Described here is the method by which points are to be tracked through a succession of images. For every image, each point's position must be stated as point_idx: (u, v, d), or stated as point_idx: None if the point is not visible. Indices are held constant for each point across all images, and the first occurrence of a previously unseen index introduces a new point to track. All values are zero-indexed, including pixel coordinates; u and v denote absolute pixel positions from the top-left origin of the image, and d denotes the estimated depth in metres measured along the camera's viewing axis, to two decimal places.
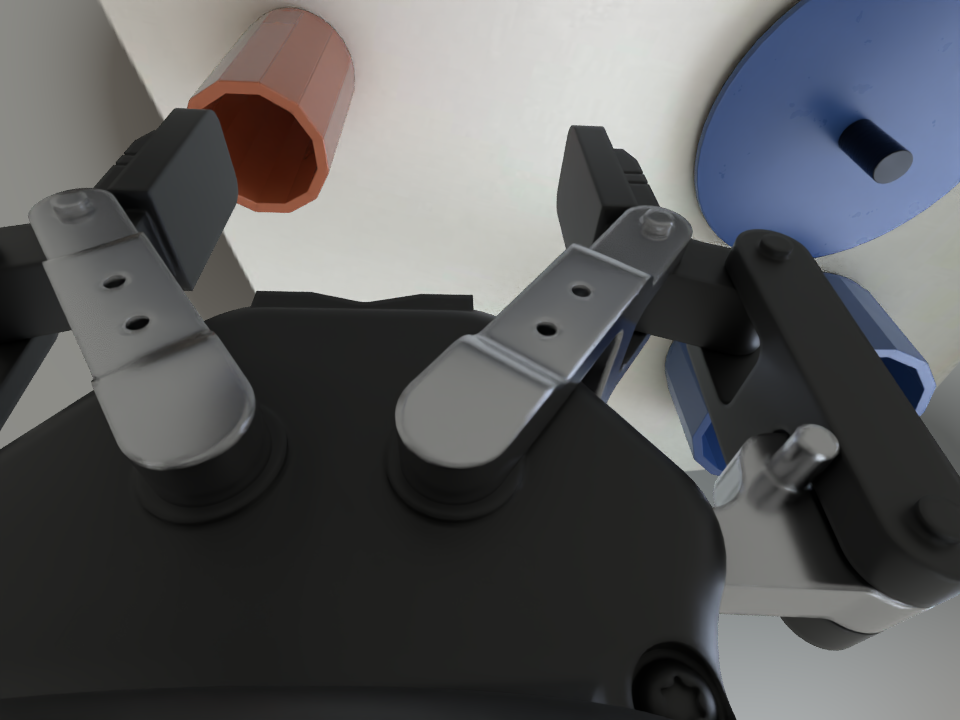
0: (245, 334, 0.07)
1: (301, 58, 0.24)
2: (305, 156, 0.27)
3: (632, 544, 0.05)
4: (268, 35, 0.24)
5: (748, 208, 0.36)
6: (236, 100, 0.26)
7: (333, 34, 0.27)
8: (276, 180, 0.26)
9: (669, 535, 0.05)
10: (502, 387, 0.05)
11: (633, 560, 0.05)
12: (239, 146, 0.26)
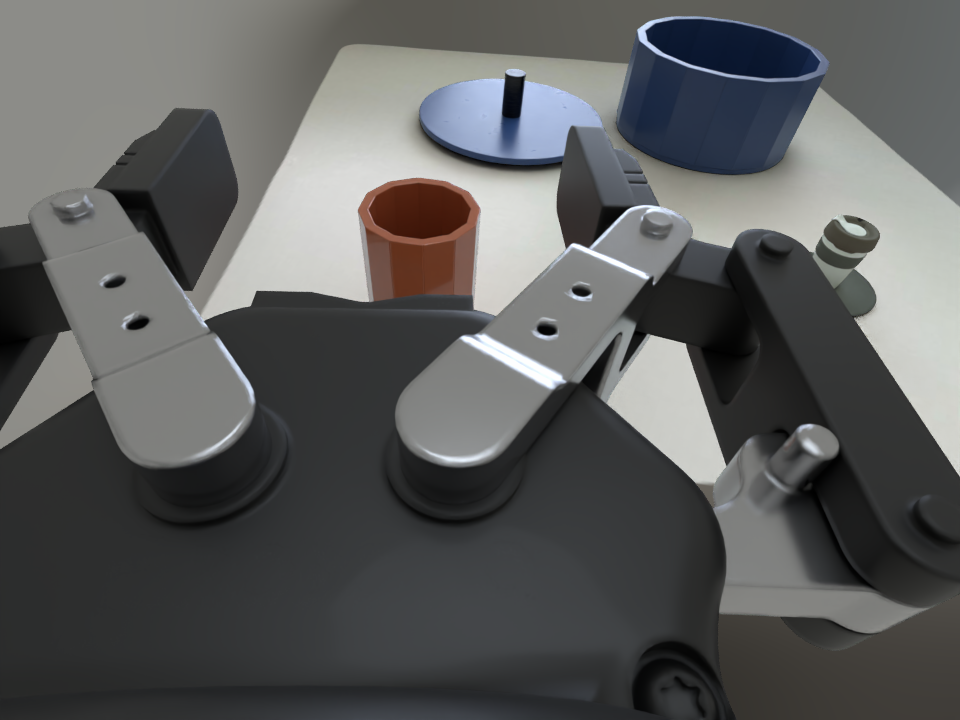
0: (245, 334, 0.07)
1: None
2: None
3: (632, 544, 0.05)
4: None
5: (559, 140, 0.51)
6: None
7: None
8: None
9: (669, 535, 0.05)
10: (502, 387, 0.05)
11: (633, 560, 0.05)
12: None
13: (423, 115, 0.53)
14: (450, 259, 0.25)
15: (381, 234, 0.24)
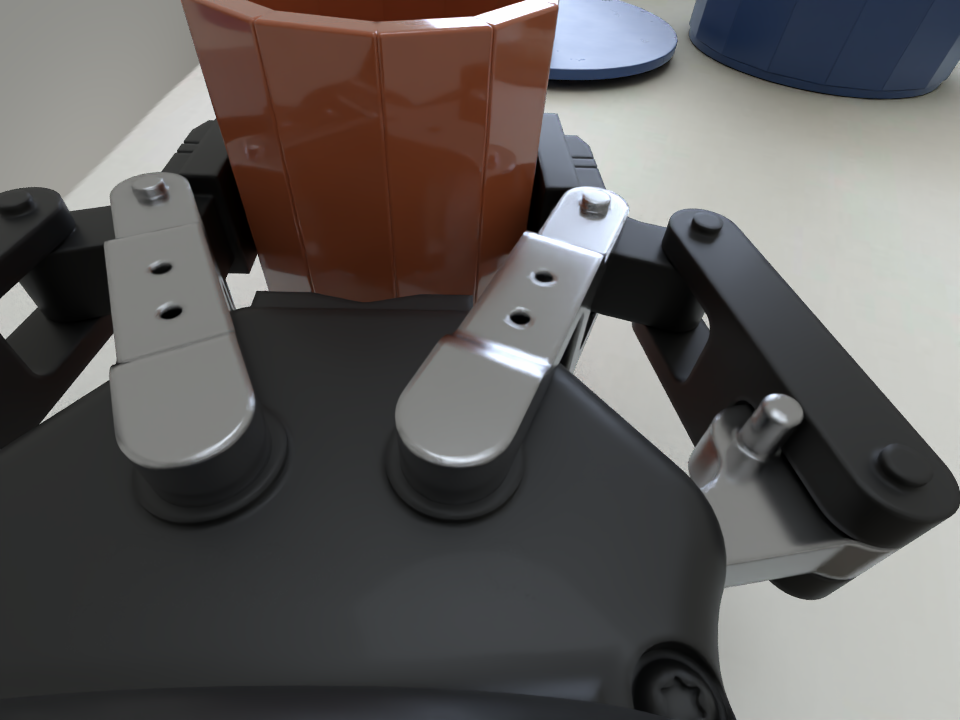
0: (245, 334, 0.07)
1: None
2: None
3: (632, 544, 0.05)
4: None
5: (618, 48, 0.34)
6: None
7: None
8: None
9: (669, 535, 0.05)
10: (502, 387, 0.05)
11: (633, 560, 0.05)
12: None
13: None
14: (475, 115, 0.08)
15: (228, 6, 0.07)
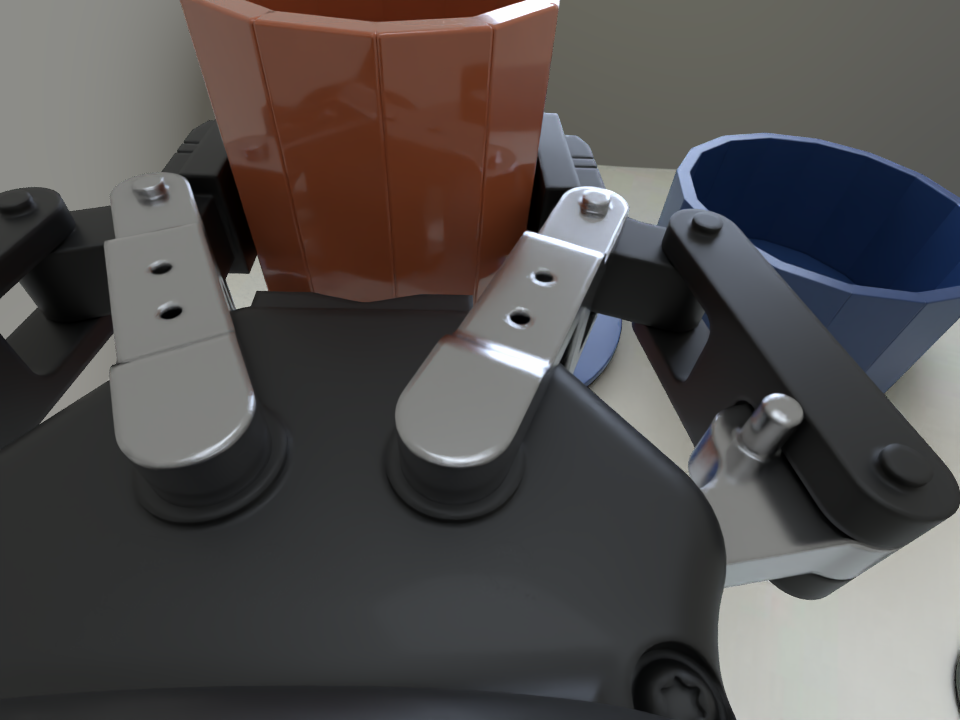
0: (245, 334, 0.07)
1: None
2: None
3: (632, 544, 0.05)
4: None
5: None
6: None
7: None
8: None
9: (669, 535, 0.05)
10: (502, 387, 0.05)
11: (633, 560, 0.05)
12: None
13: None
14: (474, 115, 0.08)
15: (227, 7, 0.07)
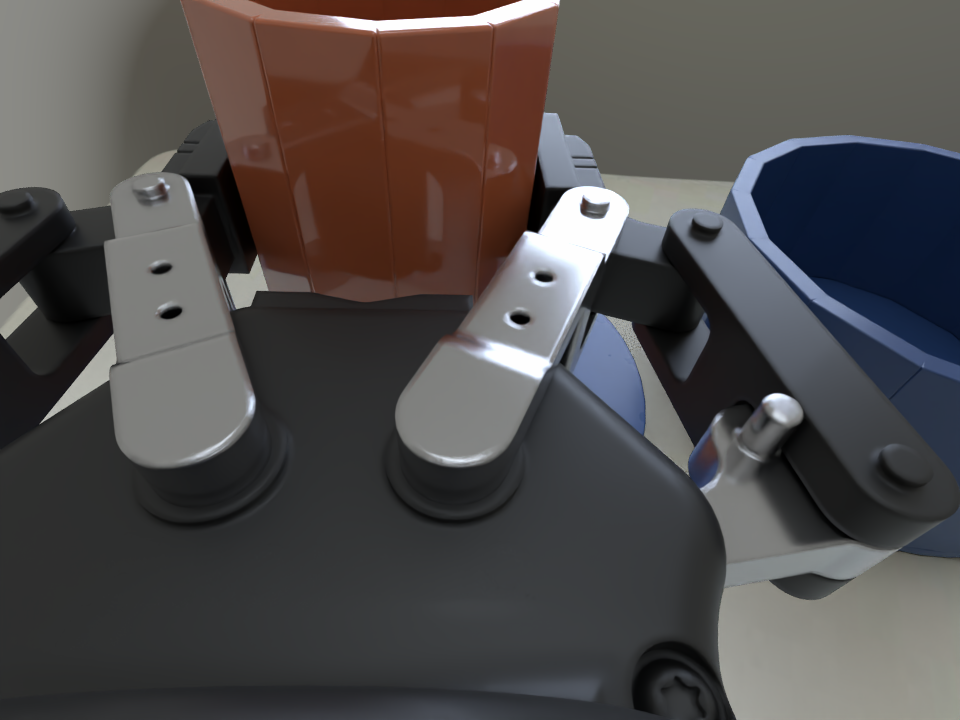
0: (245, 334, 0.07)
1: None
2: None
3: (632, 544, 0.05)
4: None
5: None
6: None
7: None
8: None
9: (669, 535, 0.05)
10: (502, 387, 0.05)
11: (633, 560, 0.05)
12: None
13: None
14: (475, 114, 0.08)
15: (227, 5, 0.07)
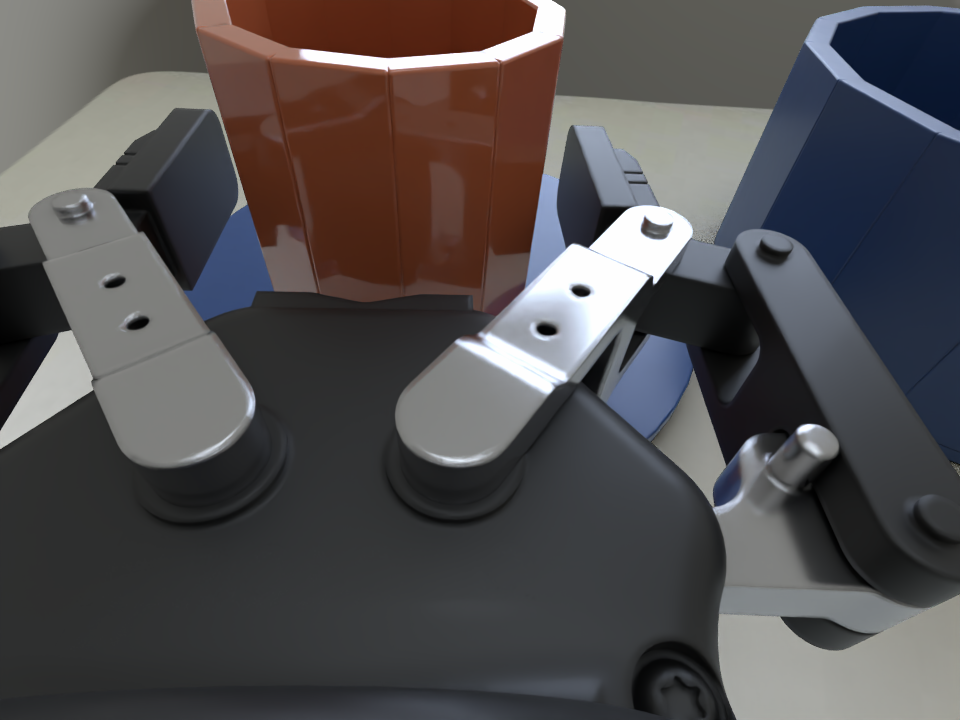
0: (245, 334, 0.07)
1: None
2: None
3: (632, 544, 0.05)
4: None
5: None
6: None
7: None
8: None
9: (669, 535, 0.05)
10: (502, 387, 0.05)
11: (633, 560, 0.05)
12: None
13: None
14: (482, 144, 0.08)
15: (244, 44, 0.07)
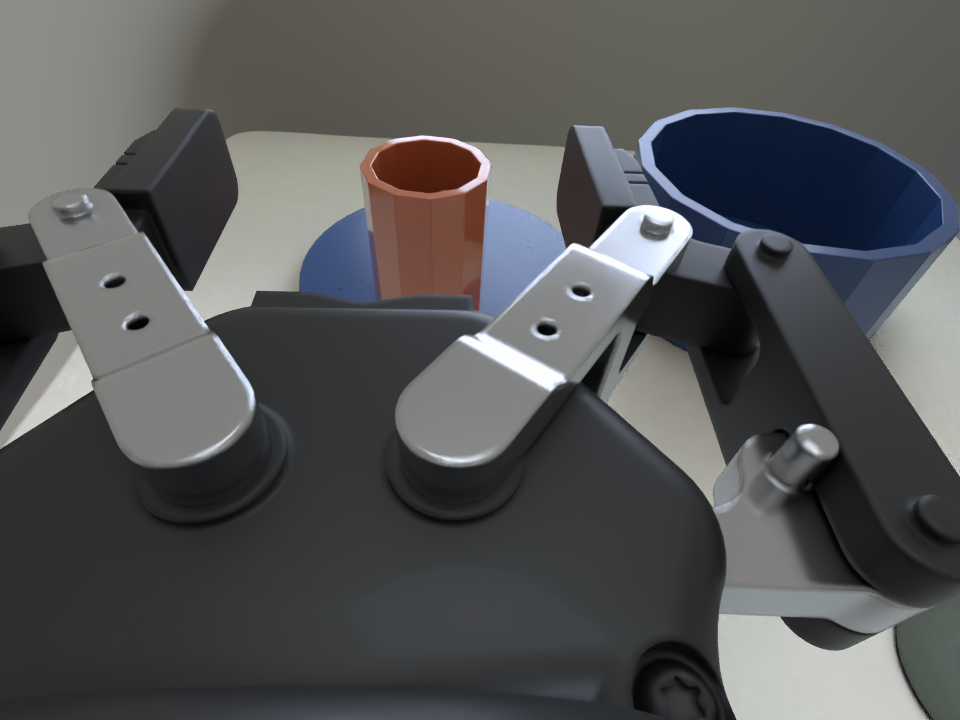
0: (245, 334, 0.07)
1: None
2: None
3: (632, 544, 0.05)
4: None
5: None
6: None
7: None
8: None
9: (669, 535, 0.05)
10: (502, 387, 0.05)
11: (633, 560, 0.05)
12: None
13: (305, 277, 0.34)
14: (459, 216, 0.23)
15: (385, 188, 0.22)
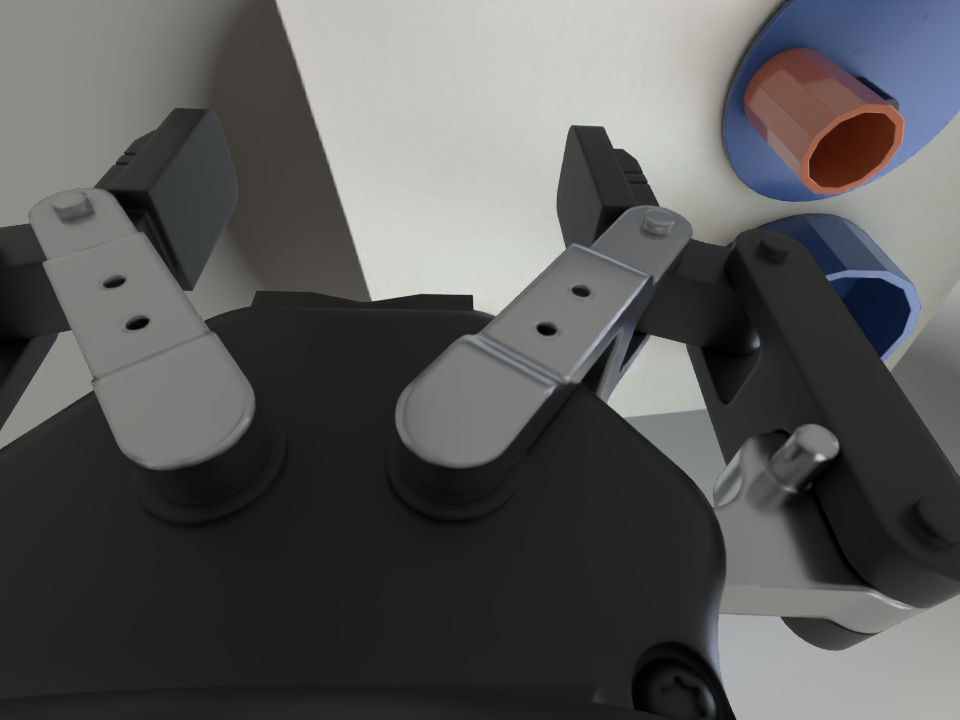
0: (245, 334, 0.07)
1: None
2: (811, 154, 0.38)
3: (632, 544, 0.05)
4: (832, 69, 0.35)
5: (766, 154, 0.44)
6: None
7: None
8: (812, 171, 0.36)
9: (669, 535, 0.05)
10: (502, 387, 0.05)
11: (633, 560, 0.05)
12: None
13: None
14: (794, 171, 0.35)
15: (823, 130, 0.32)
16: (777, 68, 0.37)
